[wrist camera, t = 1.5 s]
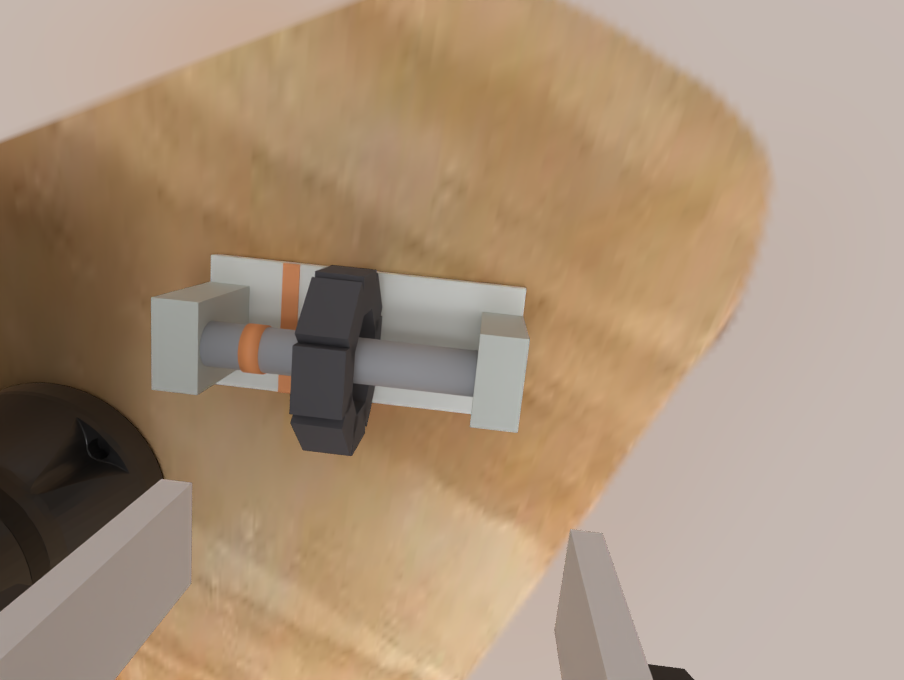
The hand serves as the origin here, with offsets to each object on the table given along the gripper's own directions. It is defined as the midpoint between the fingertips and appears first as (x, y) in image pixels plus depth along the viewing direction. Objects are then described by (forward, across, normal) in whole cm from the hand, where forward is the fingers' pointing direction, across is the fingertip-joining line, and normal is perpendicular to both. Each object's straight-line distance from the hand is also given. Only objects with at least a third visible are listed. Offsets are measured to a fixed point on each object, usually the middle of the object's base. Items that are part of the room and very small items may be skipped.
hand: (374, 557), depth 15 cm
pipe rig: (+23, -5, 0) cm, 24 cm away
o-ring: (+22, -5, 0) cm, 23 cm away
